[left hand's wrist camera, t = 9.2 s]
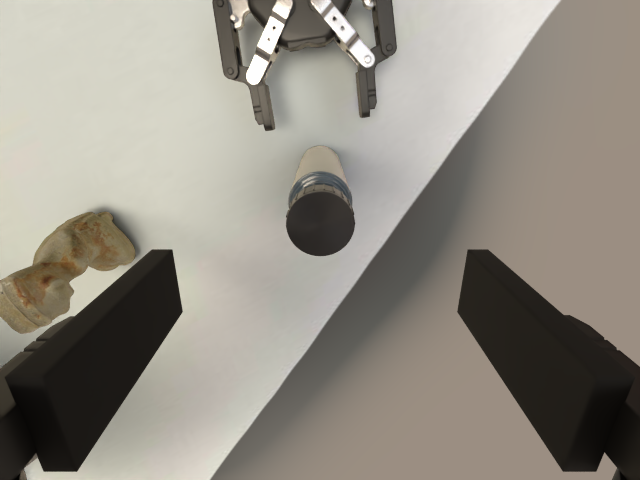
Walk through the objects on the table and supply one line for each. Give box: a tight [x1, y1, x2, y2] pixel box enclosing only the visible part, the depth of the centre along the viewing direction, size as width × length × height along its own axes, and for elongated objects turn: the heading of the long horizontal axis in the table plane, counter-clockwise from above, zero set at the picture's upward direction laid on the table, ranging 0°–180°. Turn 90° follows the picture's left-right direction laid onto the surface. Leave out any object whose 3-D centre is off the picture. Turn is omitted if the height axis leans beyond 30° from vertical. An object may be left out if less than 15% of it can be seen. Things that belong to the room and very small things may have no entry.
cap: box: [286, 184, 355, 256], centre depth 21 cm, size 4×4×2 cm
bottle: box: [288, 146, 352, 207], centre depth 30 cm, size 4×4×20 cm
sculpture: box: [0, 212, 135, 334], centre depth 35 cm, size 6×7×15 cm
